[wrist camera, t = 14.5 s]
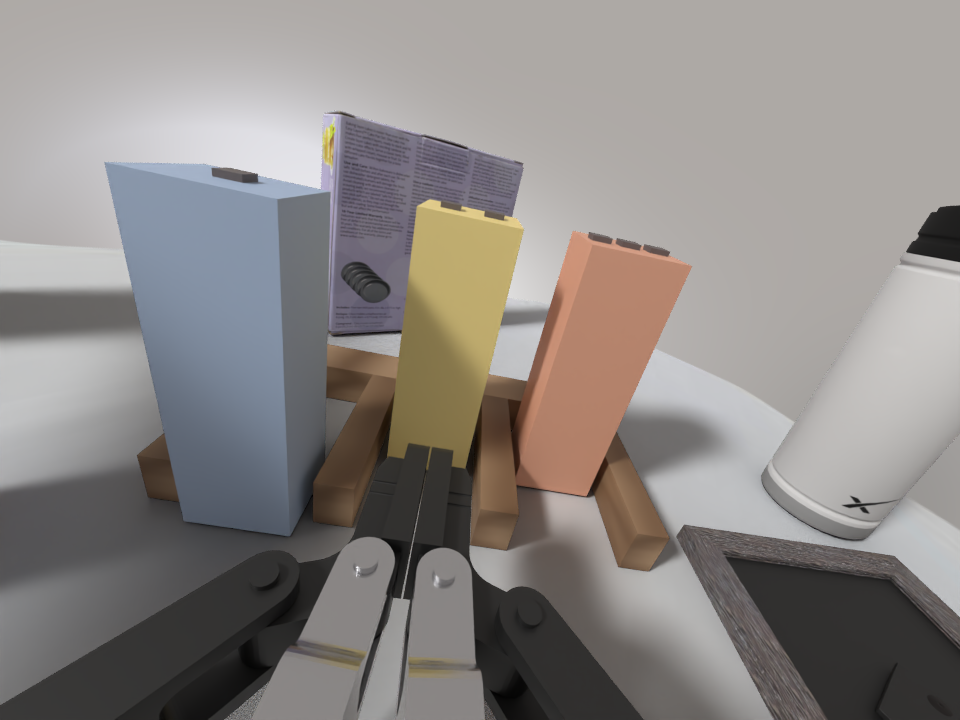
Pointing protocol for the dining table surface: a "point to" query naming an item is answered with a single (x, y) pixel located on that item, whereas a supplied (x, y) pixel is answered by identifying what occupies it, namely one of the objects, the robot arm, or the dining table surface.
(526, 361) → the dining table surface
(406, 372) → the yellow block
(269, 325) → the blue block
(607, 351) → the peach rectangular block
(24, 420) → the dining table surface
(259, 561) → the robot arm
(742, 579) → the picture frame
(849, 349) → the travel mug
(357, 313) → the cake pan box
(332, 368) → the dock
